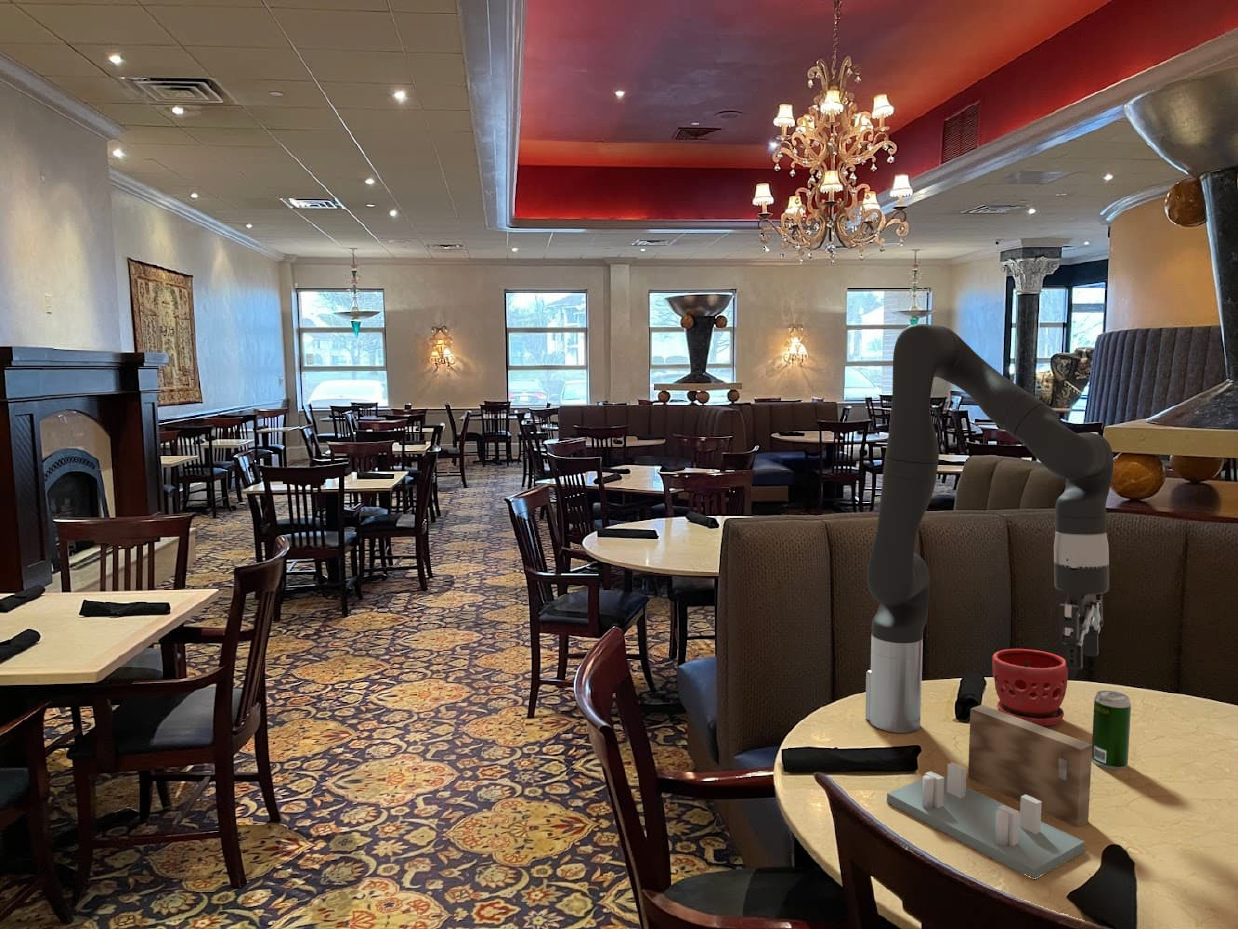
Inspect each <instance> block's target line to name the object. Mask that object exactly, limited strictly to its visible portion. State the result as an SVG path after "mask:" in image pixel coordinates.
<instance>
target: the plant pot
mask: <svg viewBox="0 0 1238 929" xmlns="http://www.w3.org/2000/svg"><path fill="white" fill-rule="evenodd" d="M1024 663H1027V664H1028V665H1029V666H1027V667H1026V666H1024V665H1023V664H1024ZM991 665H992V668H991V669H992V677H993V679H994V680H993V681H994V689H995V691H996V692H995V693H996V695H997V696H998V699H999V701H998V702H996V708H997V710H998V711H1001V712H1004V713H1006V714H1009V715H1012V716H1015V717H1017V718H1020V719H1023V720H1026V721H1029V722H1031V723H1034V724H1037V725H1040V726H1042V727H1046V726H1053V725H1055V724H1058V723H1059V722H1060V721H1062V719H1063V718H1064V716H1065V712H1064V710H1063V708H1062V707H1061V705H1062V703H1063V702H1064V699H1065V696H1066V694H1067V688H1068V677H1069V675H1068V674H1069V668H1067V667H1066V658H1063V657H1062V656H1061V655H1056V653H1055V654H1054V653H1051V652H1046V651H1041V650H1035V649H1025V648H1010V649H1009V648H1008V649H1007V648H1006V649H1003V650H999V651H996V652H995V653H993V655H992V664H991Z"/></svg>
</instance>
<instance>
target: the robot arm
mask: <svg viewBox="0 0 1238 929" xmlns="http://www.w3.org/2000/svg"><path fill="white" fill-rule="evenodd" d="M893 348H894V349H893V352H892V353H893V356H892V357H893V358H892V388H891V389H892V392H891V394H892V396H891V409H890V416H889V428H888V433H887V434H888V435H887V436H888V437H887V441H886V442H887V443H886V448H885V456H884V462H883V463H884V464H883V472H882V481H881V492H880V499H879V509H878V518H877V527H876V532H875V535H874V537H875V538H874V541H873V545H872V546H873V547H872V549H871V554H870V557H869V560H868V561H869V562H868V566H867V571H866V583H867V587H868V589H869V592H870V594H871V595H872V597H873V598H874V599H875V601H877V602H879V605H878V609H877V611H876V613H875V615H874V617H873V618H872V621H871V646H870V669H868V670H867V671H866V676H865V712H864V713H865V715H864V716H865V717H864V718H865V719H866V720H868V721H869V723H870V724H871V725H872V726H873V727H875V728H878V729H879V730H883V731H886V732H889V733H891V732H892V733H896V734H897V733H899V734H900V733H901V734H902V733H903V734H907V733H913V732H917V731H918V730H919V729H920V728H921V715H922V714H921V711H922V682H923V681H922V680H923V679H922V678H923V674H922V673H923V646H924V645H923V640H924V639H923V638H924V630H925V626H926V623H927V620H928V613H929V600H930V598H929V596H930V572H929V568H928V566H927V564H926V561H925V560H924V559H923V558H922V557H921V556H920V554H917V553H916V552H915V550H916V549H915V547H916V540H917V536H918V531H919V528H920V525H921V523H922V521H923V519H924V516H925V514H926V511H927V509H928V507H929V504H930V502H931V499H932V496H933V493H934V490H935V486H936V481H937V476H938V474H937V473H938V467H939V461H940V447H939V441H938V438H937V433H936V428H935V425H934V422H933V419H932V414H931V397H932V390H933V384H934V383H933V382H934V378H936V377H937V378H939V379H942V380H943V381H946V382H947V383H950V384H952V385H953V386H956V387H957V388H958V389H961V390H962V391H964V392H965V393H966V394H967V395H968V396H969V397H970V398H972V400H973V401H974V402H975V403H976V404H977V405H978V407H979V408H980V409H981V411H982V412H983V413H984V414H985V416H986V417H988V418H989V419H990V420H991V422H992V423H994V424H996V425H997V426H998V427H1000V429H1001V430H1003V431H1005V433H1007V434H1009V435H1010V436H1011V437H1013V438H1014V439H1015V440H1017V441H1019V442H1020V443H1022V444H1023V445H1024V446H1025V447H1026V448H1027V449H1028V450H1029V452H1030V453H1031V454H1032V455H1033V456H1034V457H1035V459H1036V460H1038V461H1039V463H1040V464H1042V466H1043V467H1045V468H1046V469H1048V471H1050V472H1052V473H1053V474H1055V475H1056V476H1058V477H1060V478H1063V479H1065V486H1064V491H1063V492H1062V494H1061V495H1060V496H1059V497H1057V499H1056V501H1055V507H1054V508H1055V509H1054V517H1055V522H1054V523H1055V524H1054V525H1055V526H1054V527H1055V528H1054V529H1055V534H1054V541H1053V542H1054V543H1053V568H1054V569H1053V573H1054V574H1053V578H1054V582H1053V583H1054V587H1055V589H1056V590H1058V591H1060V592H1064V593H1066V594H1067V599H1066V601H1065V602H1064V603H1060V604H1059V607H1058V609H1059V611H1058V612H1059V620H1058V622H1059V624H1058V625H1059V626H1058V627H1059V632H1058V633H1059V634H1058V640H1059V643H1061V644H1064V645H1065V647H1064V648H1065V651H1064V652H1065V656H1064V657H1065V658H1064V659H1065V660H1066V667H1067V668H1068V670H1069V669H1070V670H1076V671H1080V670H1081V669H1083V666H1084V665H1083V664H1084V663H1083V662H1084V661H1083V657H1084V656H1086V657H1092V658H1093V657H1094V658H1096V657H1097V656H1098V655H1099V634H1100V631H1101V628H1102V627H1103V626H1104V610H1103V609H1104V608H1103V606H1104V604H1103V602H1104V601H1103V597H1104V596H1103V595H1104V594H1105V593H1108V591H1109V589H1110V560H1109V559H1110V555H1109V554H1110V553H1109V552H1110V550H1109V549H1110V548H1109V541H1108V535H1107V534H1108V533H1107V532H1108V530H1107V529H1108V528H1107V527H1108V526H1107V523H1108V522H1107V501H1108V496H1109V493H1110V491H1111V490H1110V488H1111V484H1112V478H1113V471H1114V462H1115V461H1114V460H1115V459H1114V453H1113V448H1112V447H1111V444H1110V442H1108V440H1107V439H1106V438H1105V437H1104V436H1102V435H1100V434H1098V433H1095V432H1079V433H1077V432H1074V431H1073V430H1071V429H1070V428H1068V427H1067V426H1065V425H1064V424H1063V423H1061V421H1060V417H1059V416H1060V415H1059V414H1058V413H1057V412H1056V411H1055V410H1054V409H1053V408H1052V407H1050V406H1049V405H1048V404H1046V403H1045V402H1043V401H1042V400H1041V399H1038V398H1037V397H1036V396H1034V395H1033V394H1031V393H1029V392H1028V391H1027V390H1025V389H1024V388H1022V387H1021V386H1019V385H1018V384H1016V383H1015V382H1013V381H1012V380H1010V379H1009V378H1007V377H1005V376H1004V375H1003V374H1002V373H1001V372H999V371H997V370H996V369H995V368H994V367H993V366H992V365H990V364H989V363H988V362H986V361H985V360H984V359H983V358H982V357H981V356H980V355H979V354H978V353H977V352H976V351H974V350H973V349H972V348H971V347H970V346H969V344H968V343H967V342H965V340H963V338H961V337H960V336H959V335H958V334H957V333H955V331H954V330H952V329H950V328H948V327H946V326H942V325H935V324H923V323H916V324H911V325H909V326H907V327H906V328H904V329H903V330H902V331H901V332H900V334H899V335H898V337H897V339H896V342H895V344H894V347H893ZM1071 633H1072V634H1073V636H1072V635H1071ZM1083 655H1084V656H1083Z"/></svg>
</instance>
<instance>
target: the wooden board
mask: <svg viewBox="0 0 1238 929" xmlns="http://www.w3.org/2000/svg"><path fill="white" fill-rule="evenodd" d="M969 716H970V717H969V739H968V743H969V744H968V768H967V769H968V770H967V778H968V780H971V781H973V782H975V783H978V784H980V785H981V786H984V787H986V788H989V789H991V790H993V791H996V792H998V793H999V794H1002V795H1003V796H1006V797H1008V798H1011V799H1014V800H1016V801H1018V802H1020V801H1021V796H1023V795H1025V794H1026V795H1028V796H1030V797H1033V798H1035V799H1037V800H1039V801H1042V805H1041V813H1044V814H1046V815H1049V816H1051V817H1053V818H1055V819H1058V820H1060V821H1062V822H1064V823H1066V824H1068V825H1070V826H1073V827H1075V828H1079V827H1081V826H1082V825H1085V824H1086V823H1088V822H1089V817H1090V816H1089V814H1090V813H1089V812H1090V796H1091V795H1090V794H1091V776H1092V761H1093V760H1092V743H1089V742H1086V741H1084V740H1082V739H1078V738H1075V737H1072V736H1070V735H1067V734H1065V733H1062V732H1059V731H1056V730H1053V729H1050V728H1047V727H1046V726H1040V725H1037V724H1034V723H1031V722H1029V721H1026V720H1023V719H1020V718H1017V717H1015V716H1012V715H1009V714H1006V713H1004V712H1001V711H999V710H998V709H995V708H992V707H989V706H987V705H984V704H980V705H977V706H973V707H971V708H970V715H969Z"/></svg>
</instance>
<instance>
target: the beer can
mask: <svg viewBox="0 0 1238 929" xmlns="http://www.w3.org/2000/svg"><path fill="white" fill-rule="evenodd" d="M1130 700H1131V698H1130V696H1128V695H1127V694H1125V693H1122V692H1120V691H1119V692H1118V691H1114V690H1098V691H1096V693H1095V696H1094V700H1093V716H1092V717H1093V720H1092V736H1091V737H1092V738H1091V739H1092V741H1091V744H1092V760H1091V761H1093V763H1094V765H1096V766H1098V767H1099V768H1102V769H1106V770H1110V771H1122V770H1125V769H1126V768H1127V766H1128V764H1129V750H1130V732H1131V731H1130V730H1131V717H1132V716H1131V712H1132V703H1131V701H1130Z"/></svg>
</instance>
